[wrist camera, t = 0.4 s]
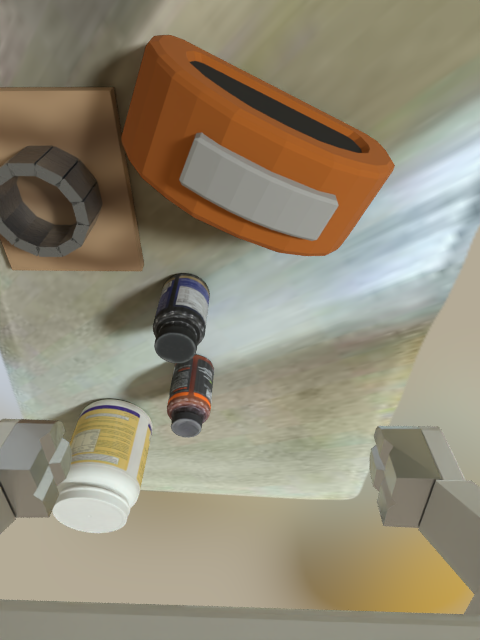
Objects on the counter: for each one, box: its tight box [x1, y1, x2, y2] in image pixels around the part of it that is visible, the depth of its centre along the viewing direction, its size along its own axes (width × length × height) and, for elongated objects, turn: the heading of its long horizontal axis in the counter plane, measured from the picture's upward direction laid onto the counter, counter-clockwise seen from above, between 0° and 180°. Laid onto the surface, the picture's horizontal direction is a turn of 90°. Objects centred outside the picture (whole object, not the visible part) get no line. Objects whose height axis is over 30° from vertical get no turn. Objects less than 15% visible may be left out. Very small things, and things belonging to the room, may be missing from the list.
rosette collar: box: [0, 146, 103, 257], centre depth 46 cm, size 10×10×5 cm
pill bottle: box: [153, 273, 210, 363], centre depth 53 cm, size 6×6×11 cm
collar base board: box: [0, 87, 144, 271], centre depth 48 cm, size 20×16×2 cm
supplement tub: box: [53, 399, 152, 533], centre depth 69 cm, size 12×12×17 cm
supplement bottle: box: [167, 355, 214, 437], centre depth 62 cm, size 6×6×11 cm
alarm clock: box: [121, 35, 395, 256], centre depth 38 cm, size 23×9×17 cm, turn 66°
